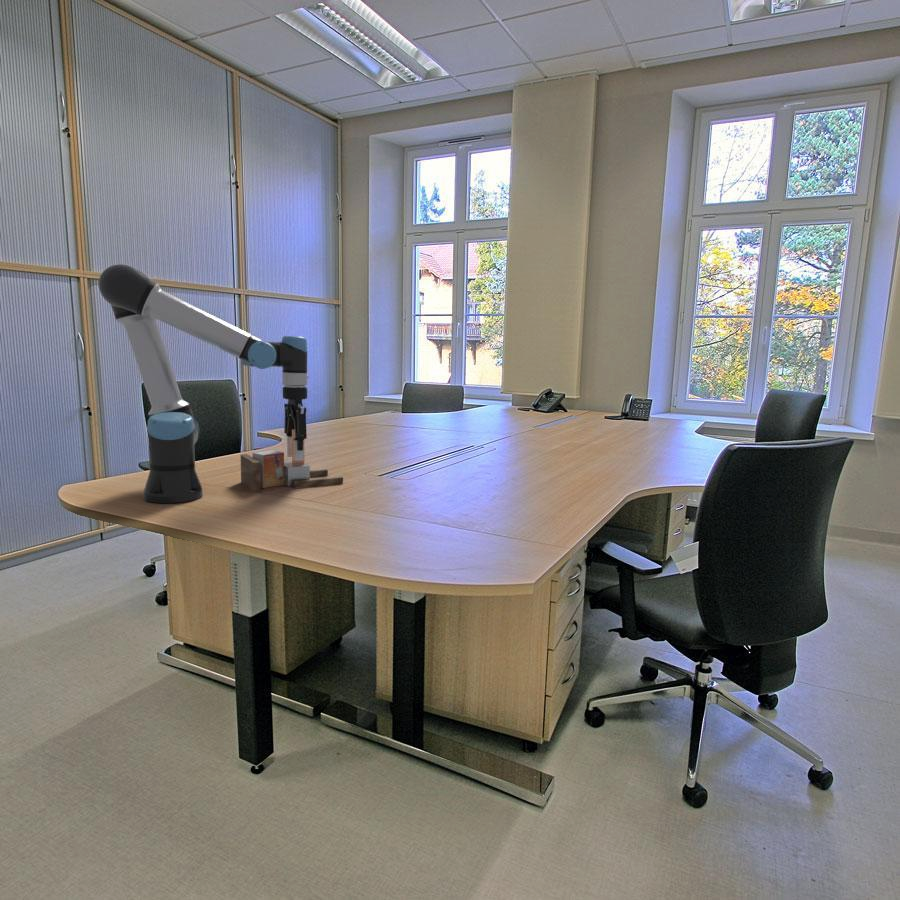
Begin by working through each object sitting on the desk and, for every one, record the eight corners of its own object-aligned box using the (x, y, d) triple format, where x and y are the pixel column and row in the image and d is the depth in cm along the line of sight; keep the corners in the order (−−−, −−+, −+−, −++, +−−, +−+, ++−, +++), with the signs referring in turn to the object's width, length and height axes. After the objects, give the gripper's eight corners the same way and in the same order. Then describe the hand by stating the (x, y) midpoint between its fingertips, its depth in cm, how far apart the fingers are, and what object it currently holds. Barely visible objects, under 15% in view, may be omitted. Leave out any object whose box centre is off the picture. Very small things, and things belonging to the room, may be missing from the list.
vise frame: (254, 492, 179) (253, 462, 178) (241, 482, 191) (240, 454, 190) (343, 483, 195) (343, 456, 193) (325, 474, 207) (326, 449, 205)
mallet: (288, 486, 187) (287, 432, 184) (278, 480, 195) (277, 428, 193) (309, 484, 191) (309, 431, 188) (298, 478, 199) (298, 427, 196)
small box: (263, 488, 184) (262, 455, 182) (252, 485, 187) (251, 452, 186) (284, 484, 190) (284, 452, 189) (274, 481, 194) (273, 449, 192)
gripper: (317, 388, 182) (317, 463, 186) (296, 384, 198) (296, 452, 202) (293, 388, 178) (294, 464, 182) (273, 384, 194) (274, 454, 198)
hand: (295, 458), depth 192 cm, fingers open, 7 cm apart
